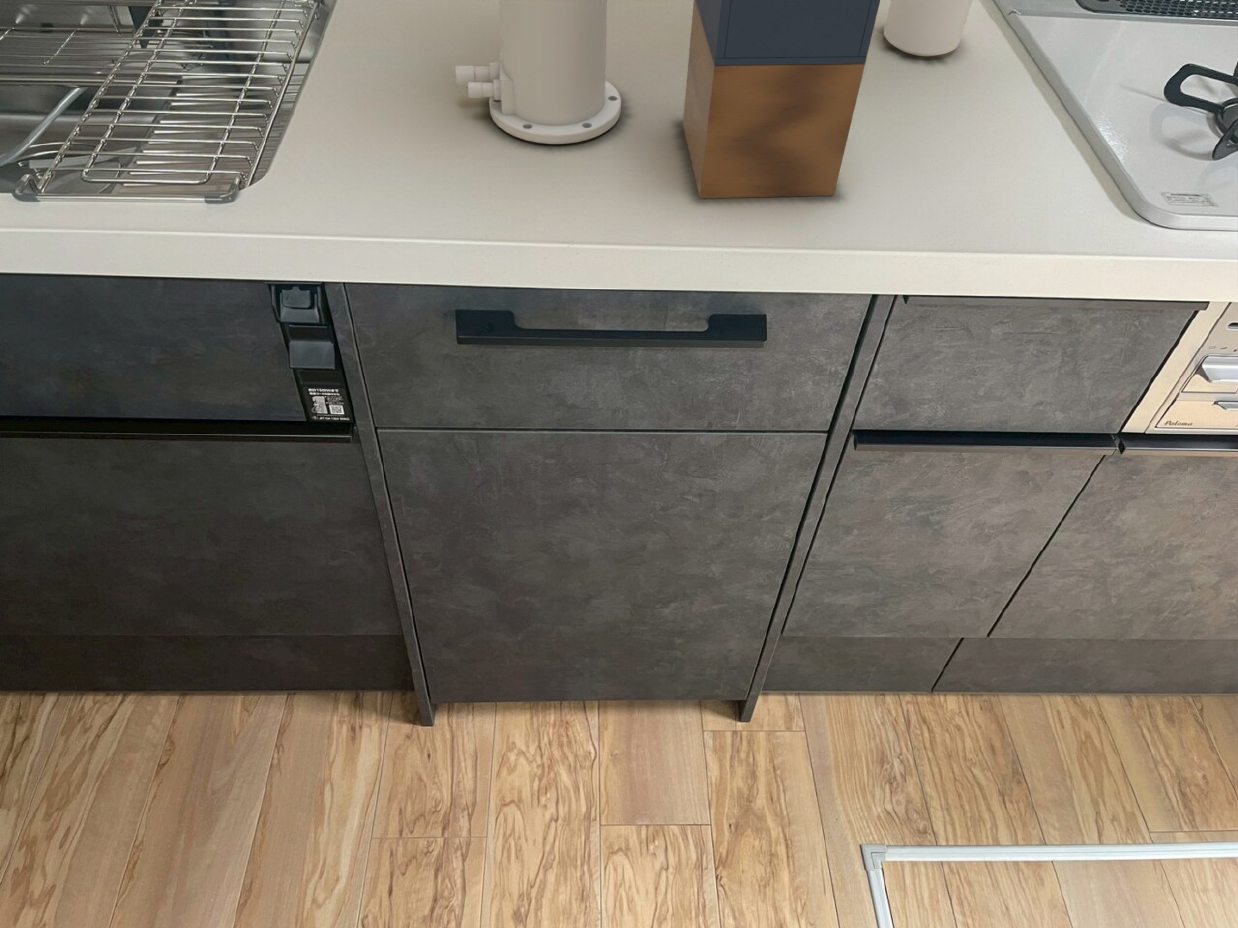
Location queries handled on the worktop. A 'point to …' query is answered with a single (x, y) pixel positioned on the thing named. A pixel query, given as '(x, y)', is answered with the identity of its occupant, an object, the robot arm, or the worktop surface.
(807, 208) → the worktop surface
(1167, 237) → the worktop surface
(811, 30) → the slate grey square cap
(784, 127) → the stand
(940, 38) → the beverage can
